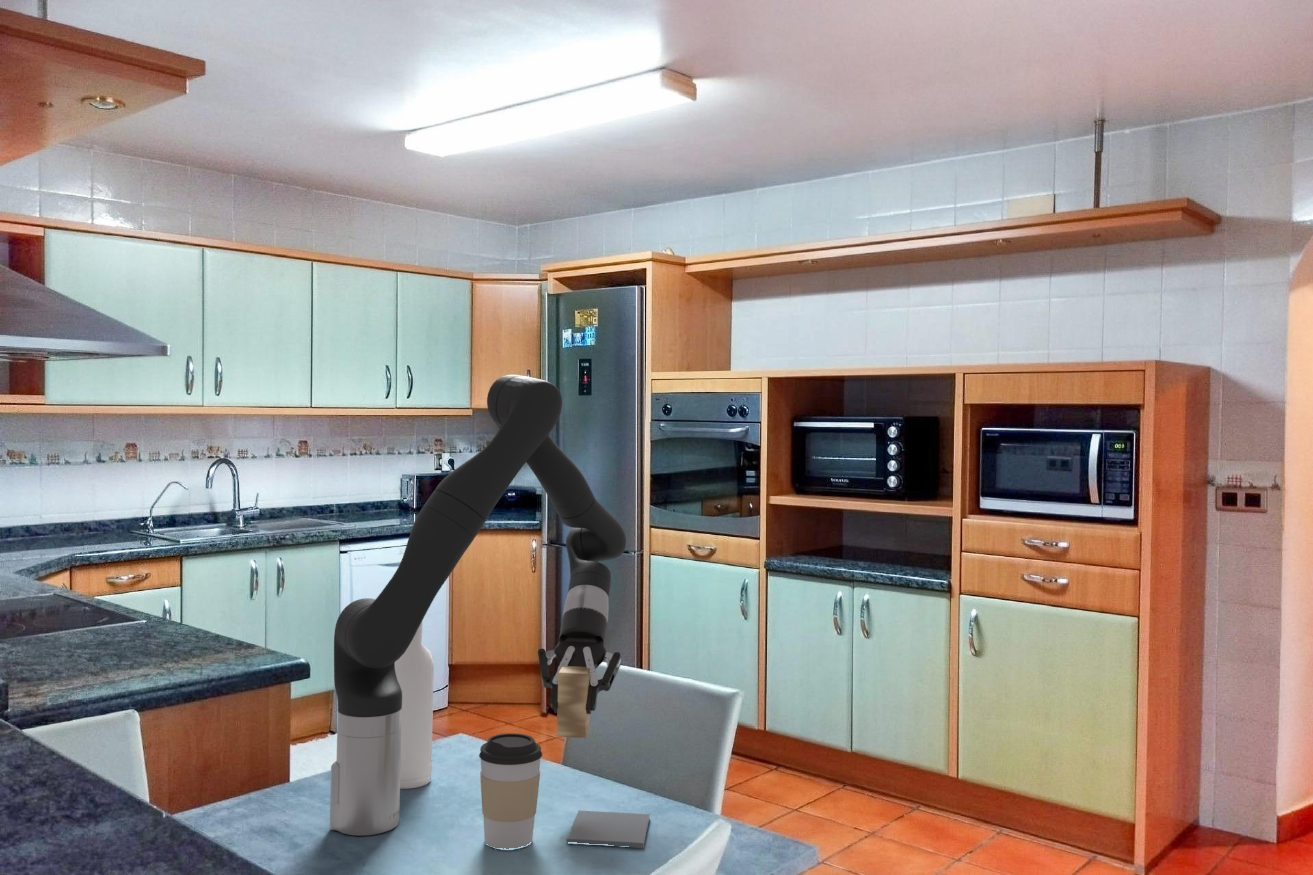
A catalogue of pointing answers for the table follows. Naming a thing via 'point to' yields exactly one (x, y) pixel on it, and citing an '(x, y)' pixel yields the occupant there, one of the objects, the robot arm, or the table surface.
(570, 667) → the oak block
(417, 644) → the bottle
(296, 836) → the table surface
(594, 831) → the slate coaster
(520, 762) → the coffee cup
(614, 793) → the table surface
